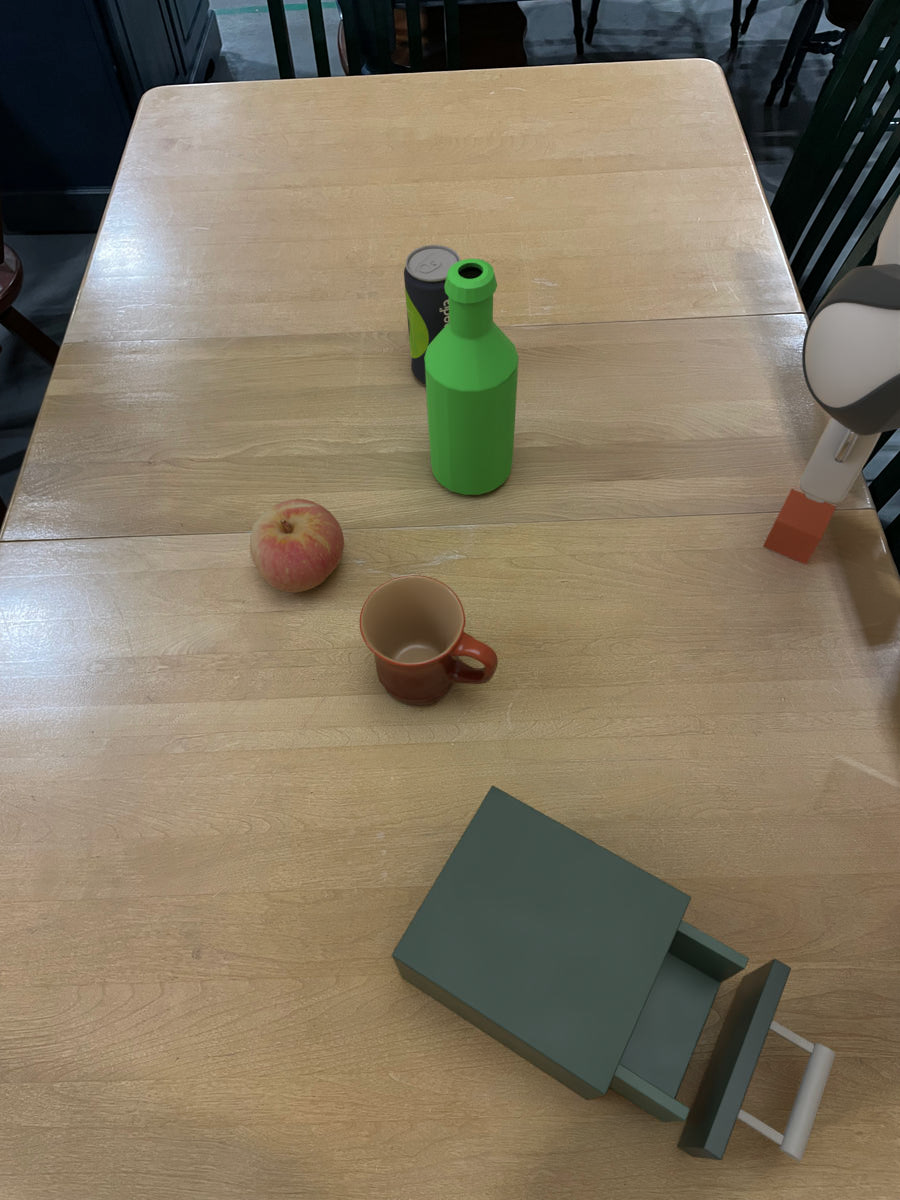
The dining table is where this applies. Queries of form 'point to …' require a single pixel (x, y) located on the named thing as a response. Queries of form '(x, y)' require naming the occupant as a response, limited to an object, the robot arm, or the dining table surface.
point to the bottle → (471, 386)
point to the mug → (421, 640)
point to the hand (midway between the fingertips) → (833, 459)
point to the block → (799, 527)
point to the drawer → (675, 1031)
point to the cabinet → (542, 941)
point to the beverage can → (426, 299)
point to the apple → (296, 545)
